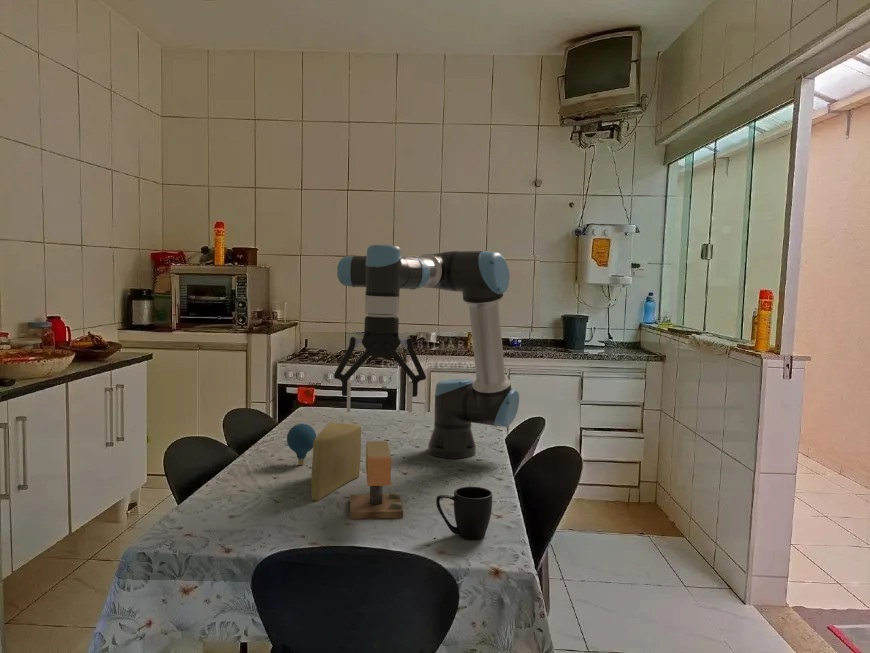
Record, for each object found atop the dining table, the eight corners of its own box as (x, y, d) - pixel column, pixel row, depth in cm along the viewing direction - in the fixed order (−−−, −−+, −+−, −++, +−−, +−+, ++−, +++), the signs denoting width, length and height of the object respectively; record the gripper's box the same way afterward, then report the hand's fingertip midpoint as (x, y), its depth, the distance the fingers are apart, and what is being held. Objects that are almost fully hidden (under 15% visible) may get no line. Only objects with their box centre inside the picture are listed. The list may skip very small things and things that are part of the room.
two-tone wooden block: (365, 478, 158) (366, 441, 157) (386, 478, 158) (387, 441, 158) (367, 499, 143) (368, 458, 142) (390, 499, 143) (391, 458, 143)
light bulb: (309, 470, 184) (310, 428, 184) (281, 467, 186) (282, 426, 185) (320, 462, 193) (321, 422, 192) (293, 459, 194) (294, 419, 193)
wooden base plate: (399, 500, 162) (399, 476, 162) (403, 517, 150) (403, 492, 150) (350, 500, 161) (350, 476, 160) (350, 518, 149) (350, 492, 148)
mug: (433, 528, 145) (435, 486, 144) (487, 528, 145) (489, 486, 145) (436, 543, 136) (437, 498, 136) (493, 543, 137) (495, 498, 137)
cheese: (333, 503, 159) (334, 442, 157) (295, 499, 160) (296, 439, 159) (361, 476, 180) (362, 423, 179) (327, 473, 182) (328, 420, 181)
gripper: (435, 316, 150) (432, 407, 151) (325, 313, 147) (323, 407, 148) (440, 318, 142) (437, 414, 144) (323, 315, 139) (321, 413, 141)
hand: (379, 411), depth 146 cm, fingers open, 13 cm apart
